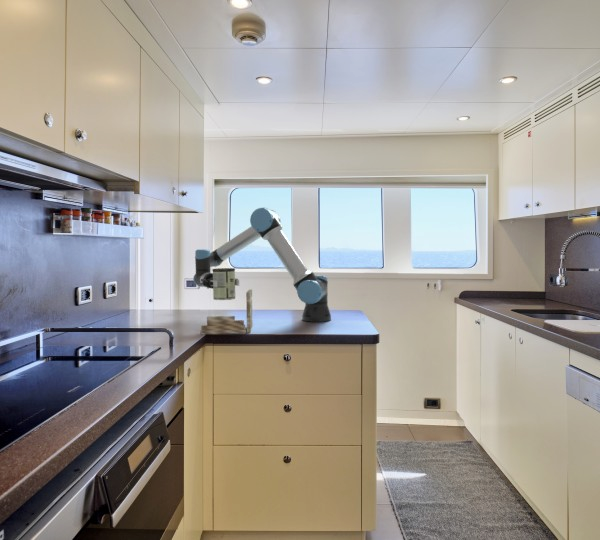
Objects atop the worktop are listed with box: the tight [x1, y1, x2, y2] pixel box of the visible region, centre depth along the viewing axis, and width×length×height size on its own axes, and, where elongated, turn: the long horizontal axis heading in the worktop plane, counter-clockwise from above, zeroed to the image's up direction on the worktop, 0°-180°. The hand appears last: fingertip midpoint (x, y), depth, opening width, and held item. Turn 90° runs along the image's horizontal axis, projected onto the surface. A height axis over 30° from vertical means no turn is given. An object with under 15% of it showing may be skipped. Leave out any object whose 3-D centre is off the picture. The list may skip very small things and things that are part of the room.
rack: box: [199, 288, 254, 334], centre depth 190 cm, size 22×16×18 cm
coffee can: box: [211, 267, 236, 301], centre depth 192 cm, size 10×10×14 cm
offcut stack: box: [200, 315, 246, 331], centre depth 183 cm, size 19×2×6 cm, turn 93°
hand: (227, 283), depth 188 cm, fingers closed on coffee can, 10 cm apart
